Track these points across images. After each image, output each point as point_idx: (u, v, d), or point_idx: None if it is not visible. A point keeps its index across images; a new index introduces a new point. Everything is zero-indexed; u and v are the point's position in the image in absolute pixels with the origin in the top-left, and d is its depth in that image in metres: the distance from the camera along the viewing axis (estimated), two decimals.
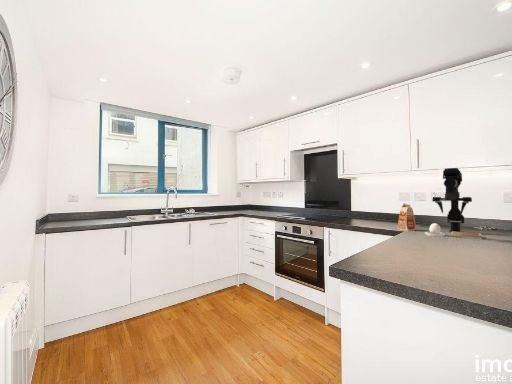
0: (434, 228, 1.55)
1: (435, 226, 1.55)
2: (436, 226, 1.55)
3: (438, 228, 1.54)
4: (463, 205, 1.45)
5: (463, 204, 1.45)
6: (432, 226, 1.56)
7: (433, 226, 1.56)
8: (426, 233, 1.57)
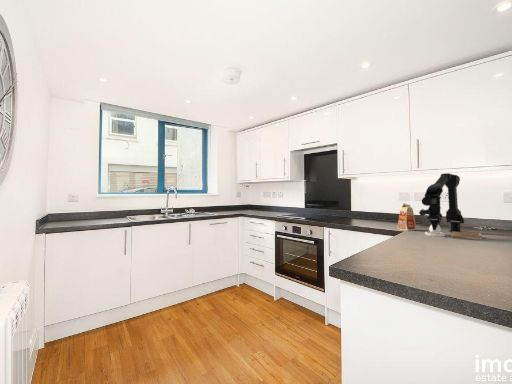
0: None
1: None
2: None
3: (438, 228, 1.54)
4: None
5: (430, 221, 1.54)
6: None
7: None
8: (426, 233, 1.57)
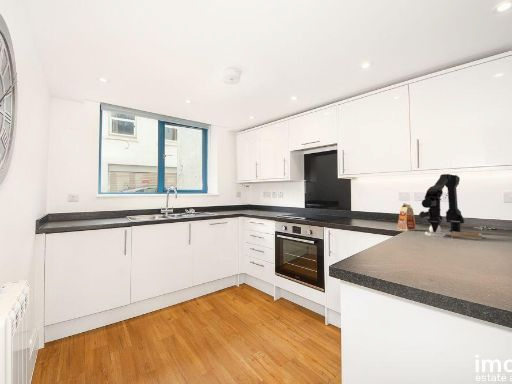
0: None
1: None
2: None
3: (438, 228, 1.54)
4: (431, 224, 1.55)
5: None
6: None
7: None
8: (426, 233, 1.57)
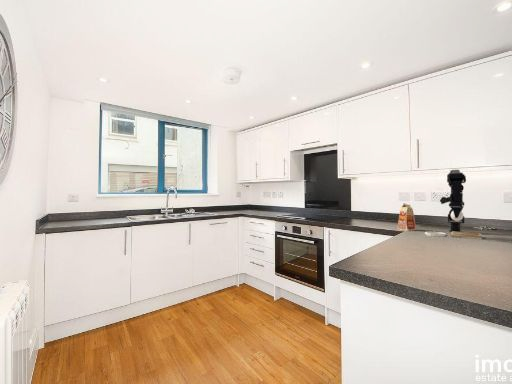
0: None
1: None
2: None
3: (460, 214, 1.49)
4: (452, 209, 1.50)
5: (452, 208, 1.50)
6: None
7: None
8: (426, 233, 1.57)
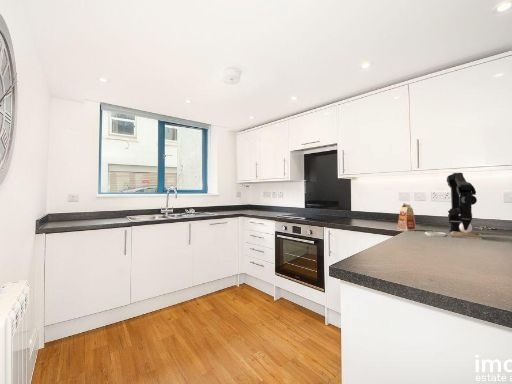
0: None
1: None
2: None
3: (469, 226, 1.47)
4: (462, 221, 1.48)
5: (461, 220, 1.48)
6: None
7: None
8: (426, 233, 1.57)
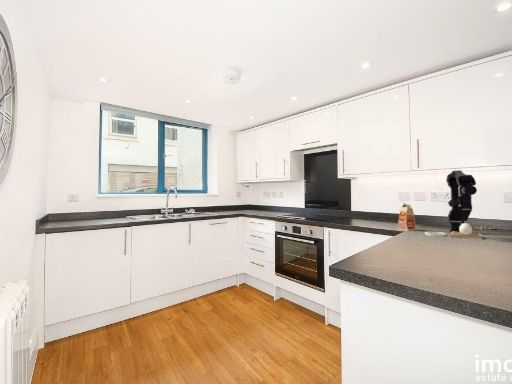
0: (465, 228, 1.48)
1: (466, 226, 1.48)
2: (467, 226, 1.48)
3: (469, 228, 1.47)
4: (461, 212, 1.47)
5: (461, 211, 1.47)
6: (463, 226, 1.49)
7: (464, 226, 1.49)
8: (426, 233, 1.57)
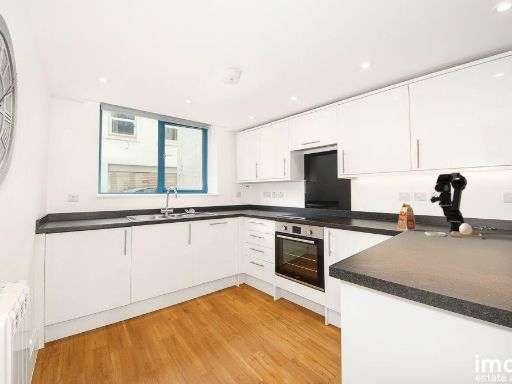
0: (465, 228, 1.48)
1: (466, 226, 1.48)
2: (467, 226, 1.48)
3: (469, 228, 1.47)
4: (442, 208, 1.59)
5: (441, 207, 1.59)
6: (463, 226, 1.49)
7: (464, 226, 1.49)
8: (426, 233, 1.57)
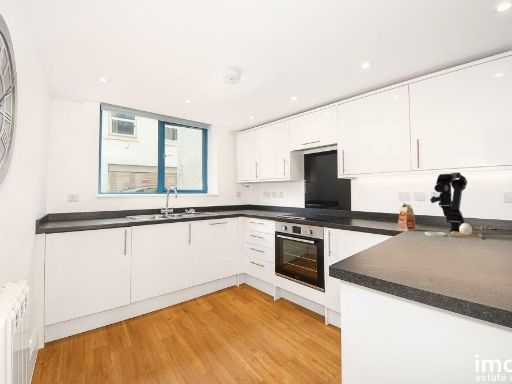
0: (465, 228, 1.48)
1: (466, 226, 1.48)
2: (467, 226, 1.48)
3: (469, 228, 1.47)
4: (442, 208, 1.59)
5: (441, 207, 1.59)
6: (463, 226, 1.49)
7: (464, 226, 1.49)
8: (426, 233, 1.57)
